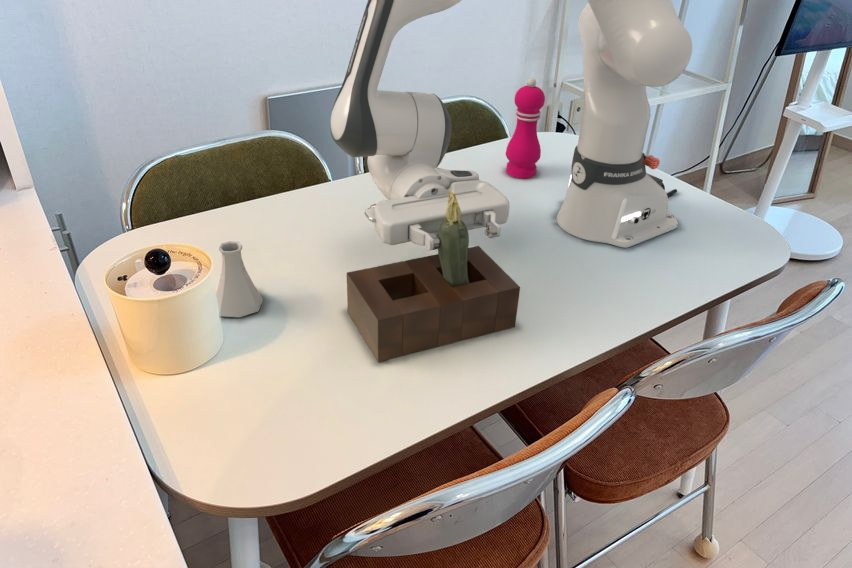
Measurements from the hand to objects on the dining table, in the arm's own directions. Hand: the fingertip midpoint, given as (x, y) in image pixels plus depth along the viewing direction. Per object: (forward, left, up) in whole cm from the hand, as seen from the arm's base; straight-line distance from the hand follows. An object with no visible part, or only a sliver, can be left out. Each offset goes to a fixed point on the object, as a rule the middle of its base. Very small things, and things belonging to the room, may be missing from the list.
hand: (466, 239), depth 96 cm
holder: (+5, -1, -13) cm, 14 cm away
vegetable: (0, -1, -13) cm, 13 cm away
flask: (+30, -15, -13) cm, 35 cm away
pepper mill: (-35, -42, -13) cm, 56 cm away
